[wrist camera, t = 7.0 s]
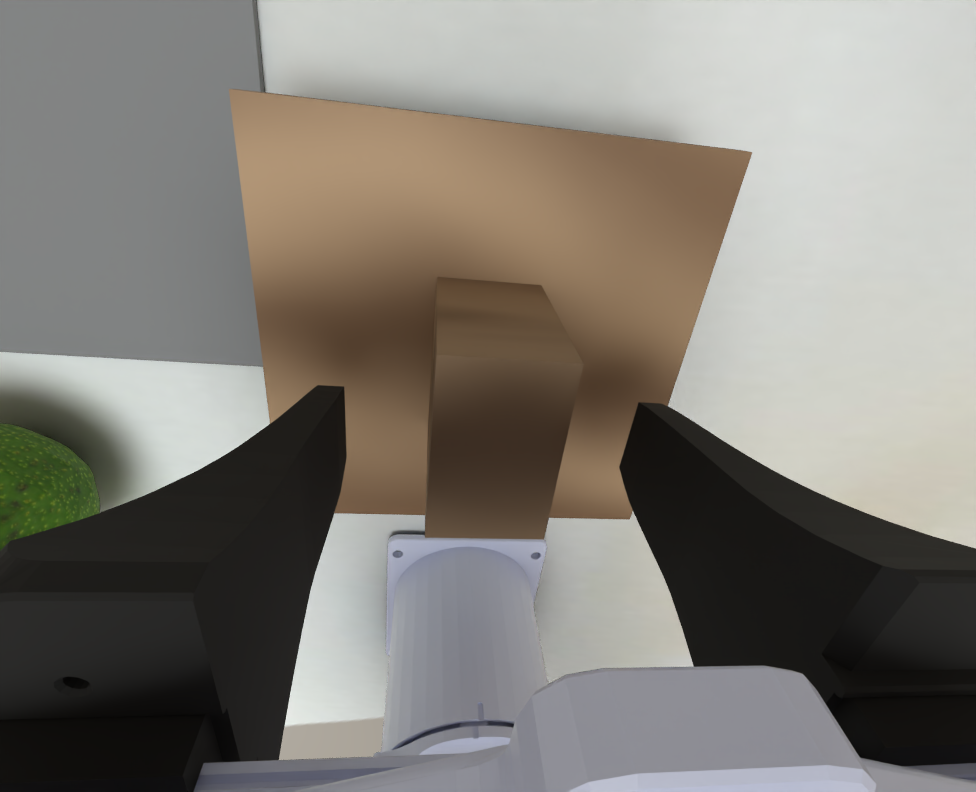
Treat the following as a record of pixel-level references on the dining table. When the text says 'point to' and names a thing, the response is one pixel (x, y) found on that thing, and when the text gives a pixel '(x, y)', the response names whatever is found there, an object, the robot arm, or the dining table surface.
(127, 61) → the mat
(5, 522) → the avocado
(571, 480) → the cover board
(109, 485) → the dining table surface
